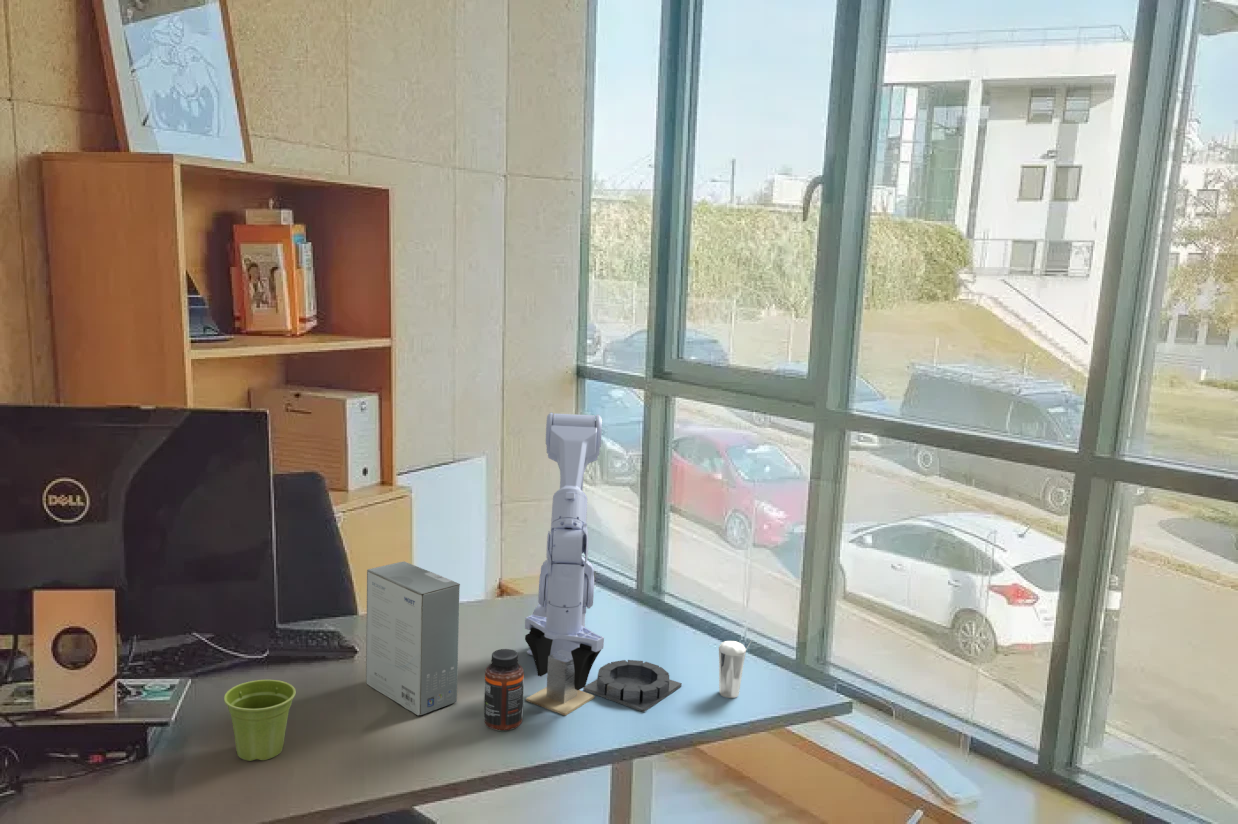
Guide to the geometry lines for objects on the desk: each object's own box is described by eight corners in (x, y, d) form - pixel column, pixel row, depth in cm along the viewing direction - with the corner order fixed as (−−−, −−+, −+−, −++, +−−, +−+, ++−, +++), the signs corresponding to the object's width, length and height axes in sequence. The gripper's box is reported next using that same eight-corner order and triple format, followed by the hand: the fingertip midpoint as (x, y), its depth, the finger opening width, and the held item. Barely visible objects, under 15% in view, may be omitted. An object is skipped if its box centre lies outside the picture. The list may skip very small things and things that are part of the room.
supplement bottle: (528, 718, 149) (531, 650, 147) (512, 735, 143) (514, 664, 142) (494, 710, 151) (496, 643, 149) (476, 727, 145) (478, 657, 143)
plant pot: (265, 728, 142) (264, 673, 140) (309, 747, 137) (309, 690, 136) (210, 754, 134) (209, 696, 132) (255, 775, 129) (255, 715, 128)
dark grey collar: (583, 690, 160) (584, 676, 159) (622, 667, 169) (623, 654, 169) (643, 712, 153) (644, 698, 153) (681, 686, 163) (682, 673, 162)
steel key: (546, 696, 156) (548, 656, 154) (559, 689, 159) (561, 649, 157) (564, 703, 154) (565, 662, 153) (577, 695, 157) (579, 655, 155)
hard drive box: (458, 703, 153) (462, 584, 150) (419, 718, 147) (421, 594, 144) (402, 671, 163) (404, 559, 160) (363, 684, 158) (364, 568, 154)
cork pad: (525, 700, 155) (525, 698, 155) (556, 683, 161) (556, 681, 161) (565, 715, 150) (565, 713, 150) (594, 697, 157) (594, 695, 157)
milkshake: (746, 702, 158) (750, 645, 157) (714, 698, 159) (718, 641, 158) (748, 690, 163) (752, 635, 161) (716, 686, 164) (721, 631, 162)
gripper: (514, 597, 154) (511, 676, 156) (587, 619, 146) (582, 702, 148) (541, 585, 160) (538, 662, 162) (612, 607, 152) (608, 687, 154)
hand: (561, 680), depth 155 cm, fingers open, 7 cm apart
